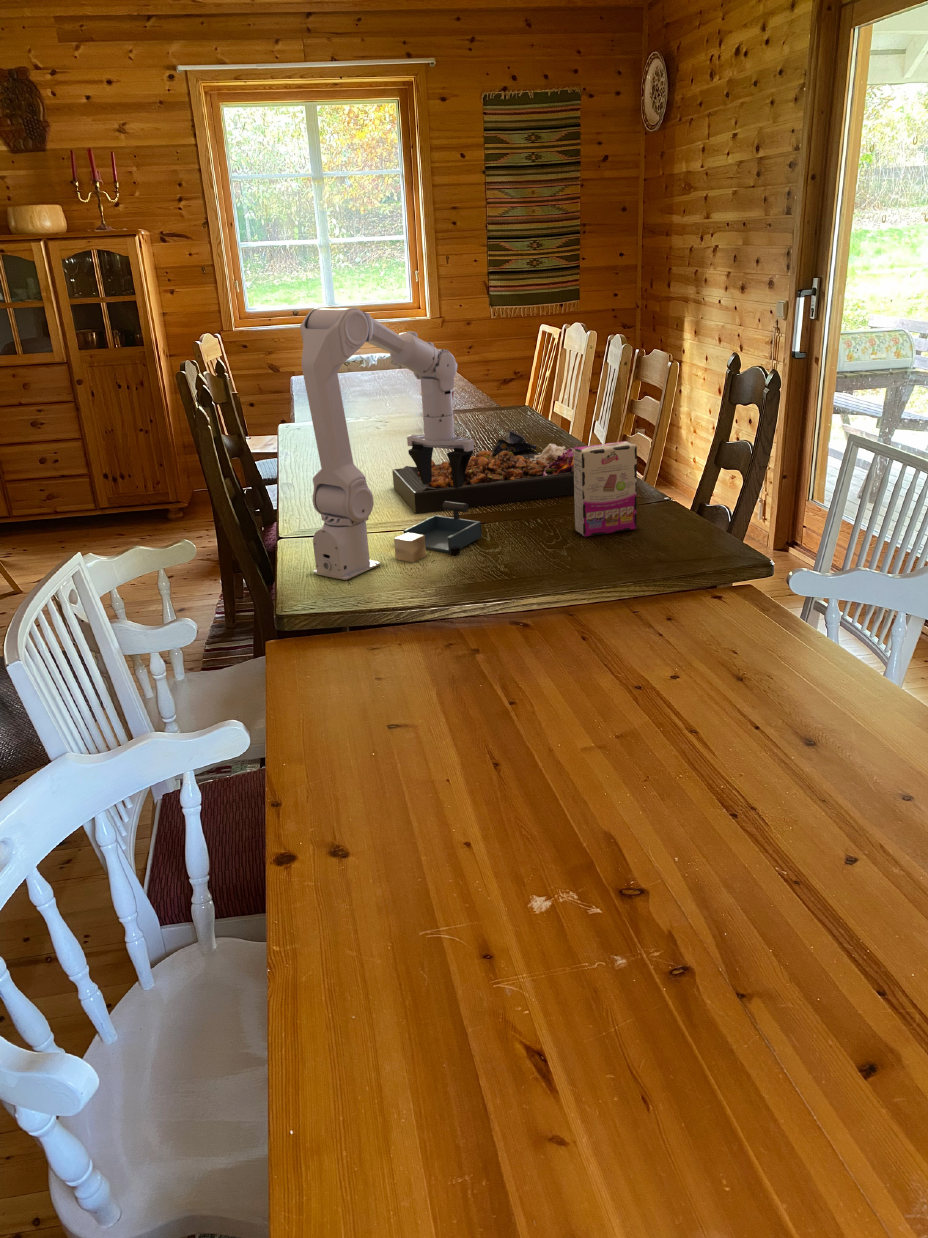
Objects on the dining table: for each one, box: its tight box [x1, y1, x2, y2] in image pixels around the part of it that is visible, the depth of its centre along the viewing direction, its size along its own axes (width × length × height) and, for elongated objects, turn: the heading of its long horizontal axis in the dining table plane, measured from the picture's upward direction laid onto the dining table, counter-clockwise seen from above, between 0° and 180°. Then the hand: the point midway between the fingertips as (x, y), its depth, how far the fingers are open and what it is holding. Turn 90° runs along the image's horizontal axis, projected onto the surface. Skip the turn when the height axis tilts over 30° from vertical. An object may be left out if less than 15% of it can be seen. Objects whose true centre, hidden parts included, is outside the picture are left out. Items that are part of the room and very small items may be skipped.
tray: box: [402, 501, 483, 554], centre depth 174 cm, size 10×11×6 cm
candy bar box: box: [572, 440, 638, 538], centre depth 173 cm, size 11×5×16 cm, turn 106°
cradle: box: [450, 546, 461, 557], centre depth 171 cm, size 2×14×1 cm, turn 54°
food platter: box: [391, 443, 578, 514], centre depth 209 cm, size 45×25×10 cm, turn 105°
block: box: [393, 533, 427, 563], centre depth 167 cm, size 4×4×4 cm
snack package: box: [490, 430, 538, 456], centre depth 246 cm, size 12×6×12 cm
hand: (442, 485), depth 178 cm, fingers open, 7 cm apart
